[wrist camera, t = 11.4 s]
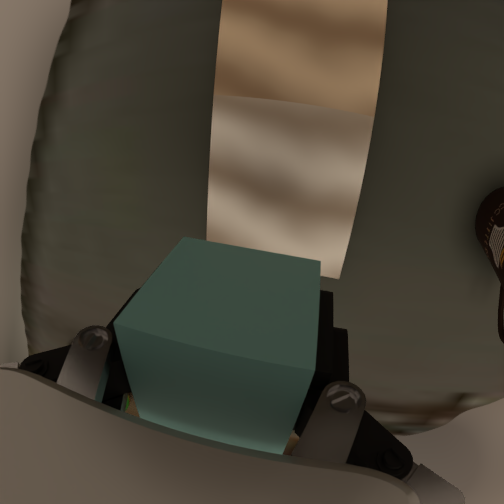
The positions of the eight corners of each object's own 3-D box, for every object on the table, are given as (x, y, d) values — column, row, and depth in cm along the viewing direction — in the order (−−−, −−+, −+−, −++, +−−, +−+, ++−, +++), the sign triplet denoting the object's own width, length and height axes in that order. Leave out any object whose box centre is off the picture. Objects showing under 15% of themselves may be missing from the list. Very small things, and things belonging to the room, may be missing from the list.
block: (184, 236, 12) (113, 322, 7) (320, 260, 11) (315, 370, 7) (186, 335, 14) (142, 422, 10) (296, 358, 14) (280, 458, 9)
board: (233, -57, 16) (230, -62, 15) (387, -42, 15) (389, -46, 14) (209, 249, 30) (206, 254, 29) (338, 272, 29) (338, 278, 28)
